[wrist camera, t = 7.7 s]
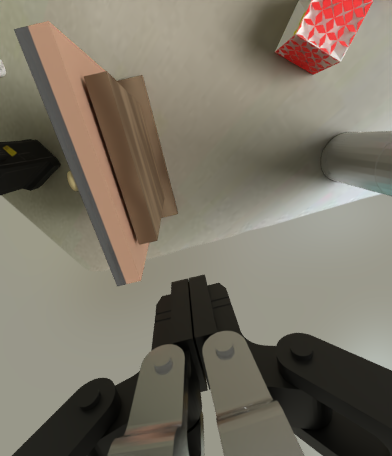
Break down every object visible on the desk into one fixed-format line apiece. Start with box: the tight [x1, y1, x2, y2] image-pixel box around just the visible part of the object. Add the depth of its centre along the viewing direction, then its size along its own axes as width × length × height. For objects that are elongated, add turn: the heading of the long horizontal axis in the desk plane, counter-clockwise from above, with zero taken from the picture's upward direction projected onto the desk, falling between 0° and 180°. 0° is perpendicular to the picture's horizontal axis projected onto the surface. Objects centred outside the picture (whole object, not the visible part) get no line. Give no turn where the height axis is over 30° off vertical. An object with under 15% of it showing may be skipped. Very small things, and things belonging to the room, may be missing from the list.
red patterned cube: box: [275, 0, 373, 75], centre depth 38 cm, size 8×8×8 cm
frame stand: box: [84, 71, 178, 245], centre depth 35 cm, size 10×24×24 cm, turn 13°
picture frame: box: [14, 21, 149, 286], centre depth 29 cm, size 3×22×16 cm, turn 12°
